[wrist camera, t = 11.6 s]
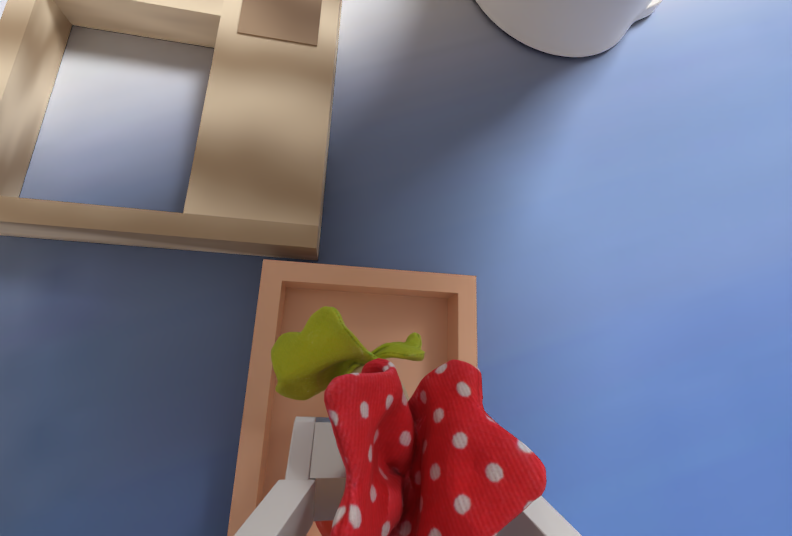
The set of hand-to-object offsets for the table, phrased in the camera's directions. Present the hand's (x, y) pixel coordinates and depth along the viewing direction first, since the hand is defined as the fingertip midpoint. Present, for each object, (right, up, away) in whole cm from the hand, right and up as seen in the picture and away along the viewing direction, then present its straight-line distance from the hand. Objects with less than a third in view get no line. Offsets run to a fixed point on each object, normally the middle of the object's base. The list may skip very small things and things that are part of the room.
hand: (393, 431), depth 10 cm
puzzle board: (-12, +16, +12) cm, 24 cm away
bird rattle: (-2, -2, +6) cm, 7 cm away
